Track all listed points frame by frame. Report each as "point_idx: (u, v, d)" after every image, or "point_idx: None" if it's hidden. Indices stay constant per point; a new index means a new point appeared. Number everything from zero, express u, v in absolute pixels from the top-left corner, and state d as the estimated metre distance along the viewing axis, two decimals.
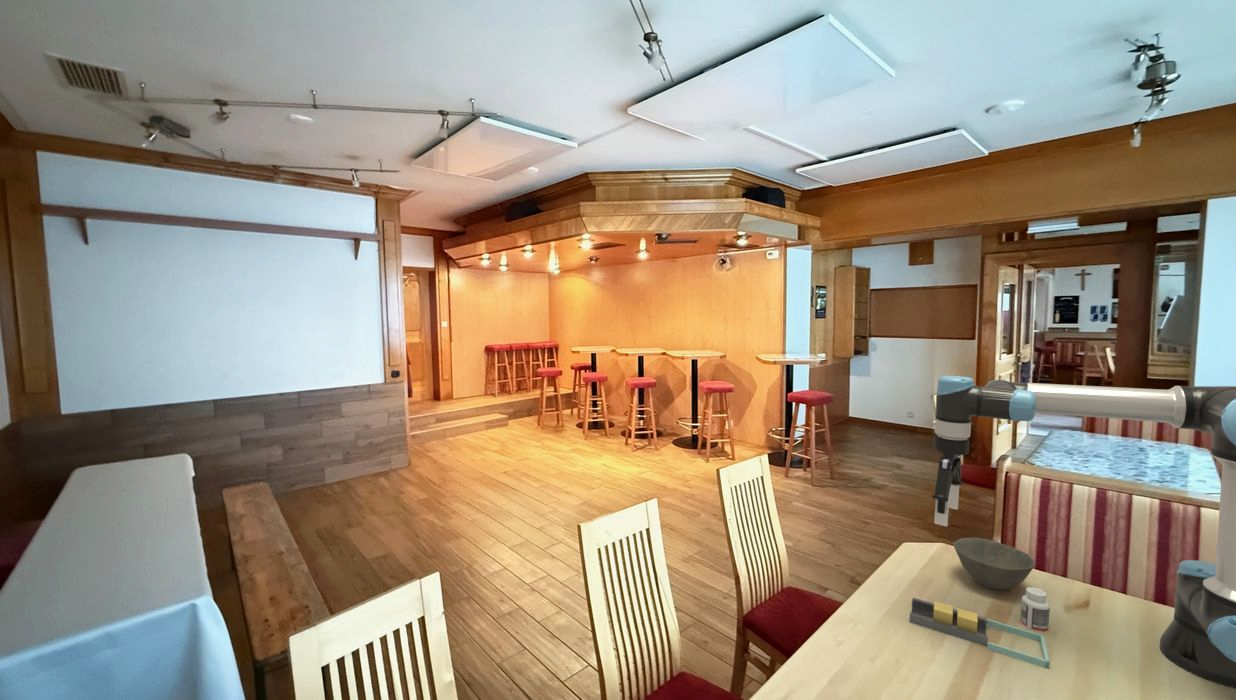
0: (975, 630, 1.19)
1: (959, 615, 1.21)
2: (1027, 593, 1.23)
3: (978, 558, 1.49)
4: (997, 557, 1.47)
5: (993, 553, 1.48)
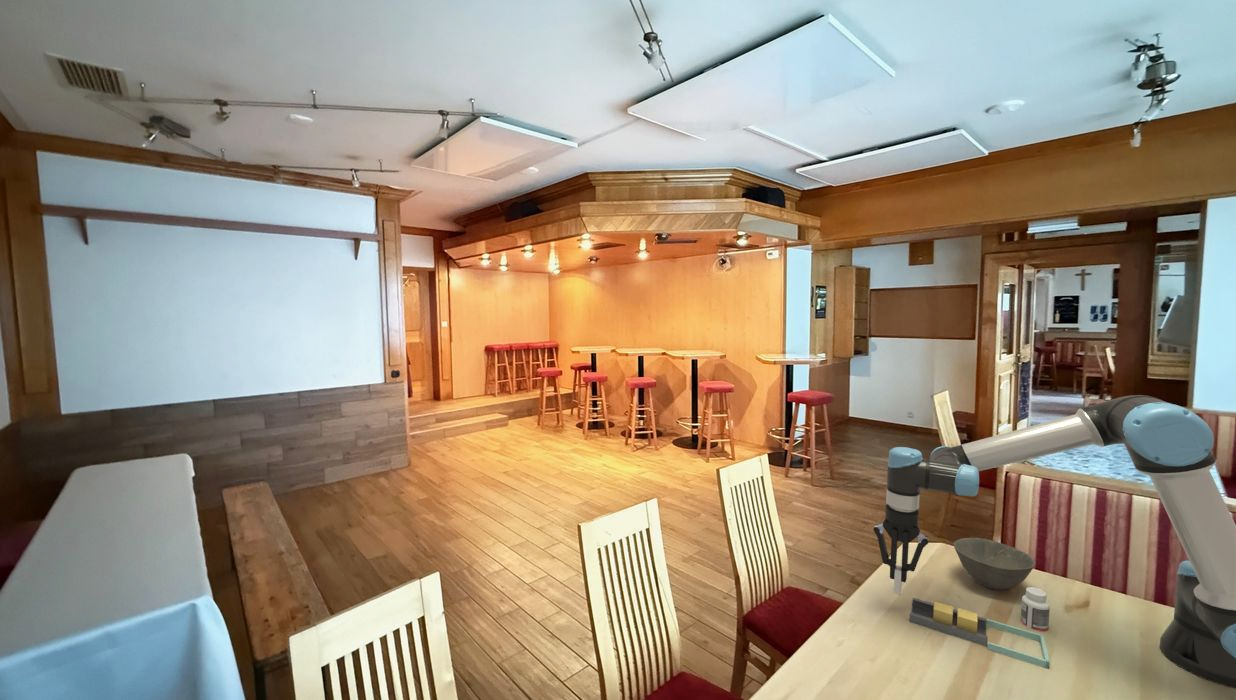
0: (975, 630, 1.19)
1: (959, 615, 1.21)
2: (1027, 593, 1.23)
3: (978, 558, 1.49)
4: (997, 557, 1.47)
5: (993, 553, 1.48)
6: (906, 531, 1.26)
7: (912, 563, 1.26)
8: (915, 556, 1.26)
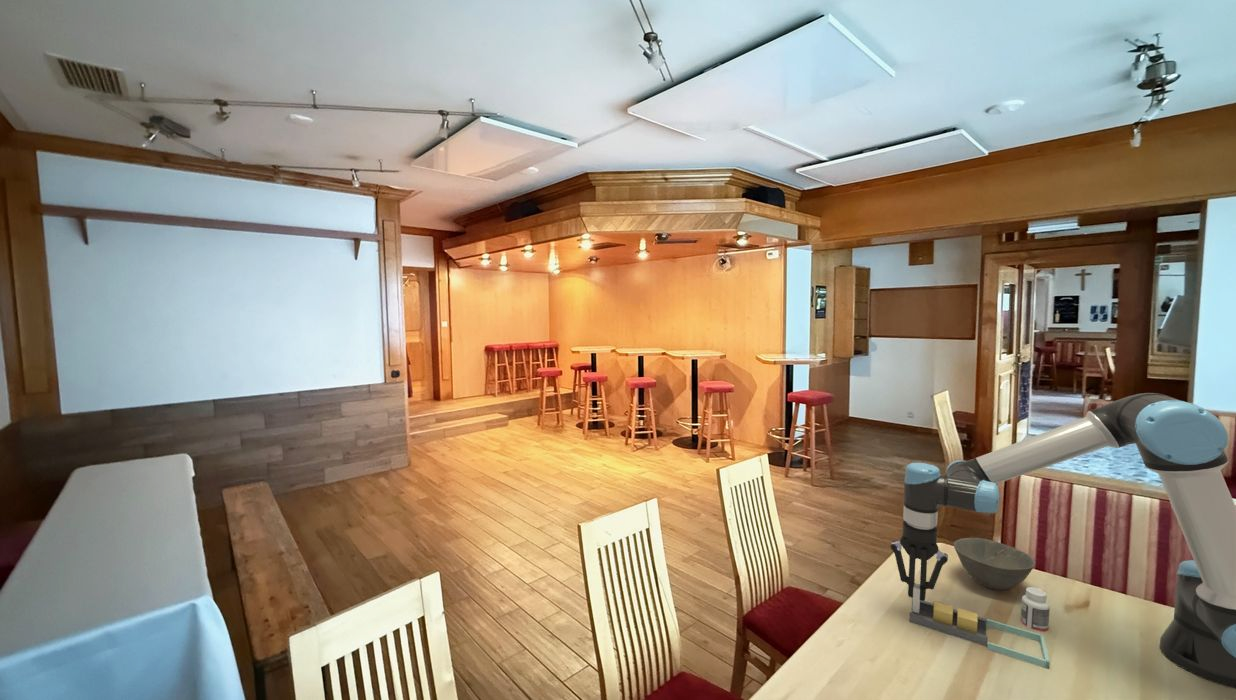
0: (975, 630, 1.19)
1: (959, 615, 1.21)
2: (1027, 593, 1.23)
3: (978, 558, 1.49)
4: (997, 557, 1.47)
5: (993, 553, 1.48)
6: (924, 548, 1.24)
7: (931, 581, 1.24)
8: (934, 574, 1.23)
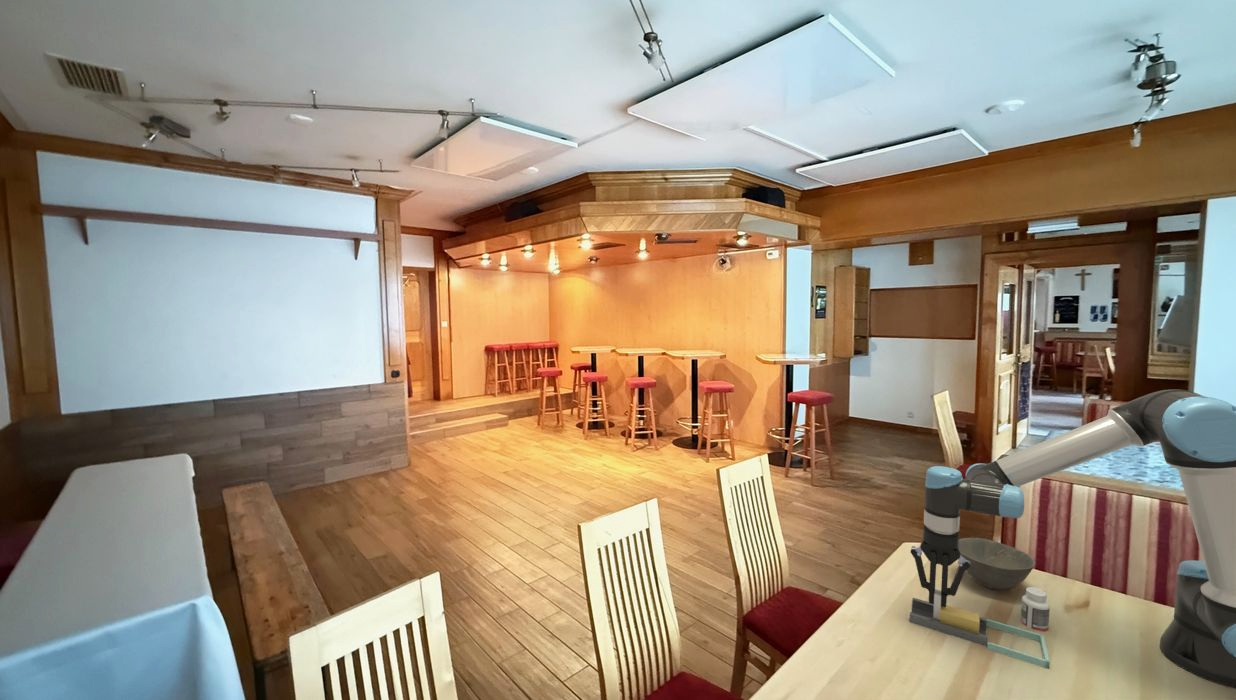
0: (977, 631, 1.18)
1: (961, 616, 1.20)
2: (1027, 593, 1.23)
3: (978, 558, 1.49)
4: (997, 557, 1.47)
5: (993, 553, 1.48)
6: (946, 554, 1.21)
7: (953, 587, 1.21)
8: (956, 580, 1.21)
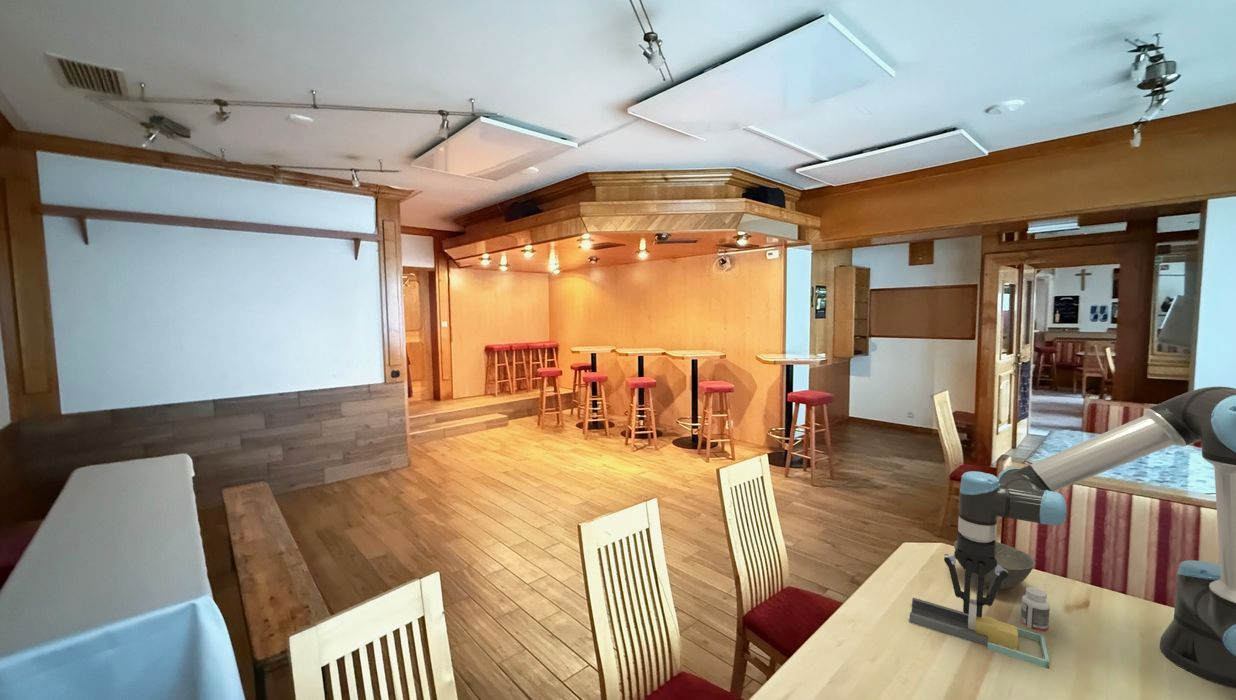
0: (1015, 644, 1.14)
1: (998, 628, 1.16)
2: (1027, 593, 1.23)
3: None
4: (997, 557, 1.47)
5: None
6: (982, 562, 1.17)
7: (989, 597, 1.17)
8: (993, 589, 1.17)
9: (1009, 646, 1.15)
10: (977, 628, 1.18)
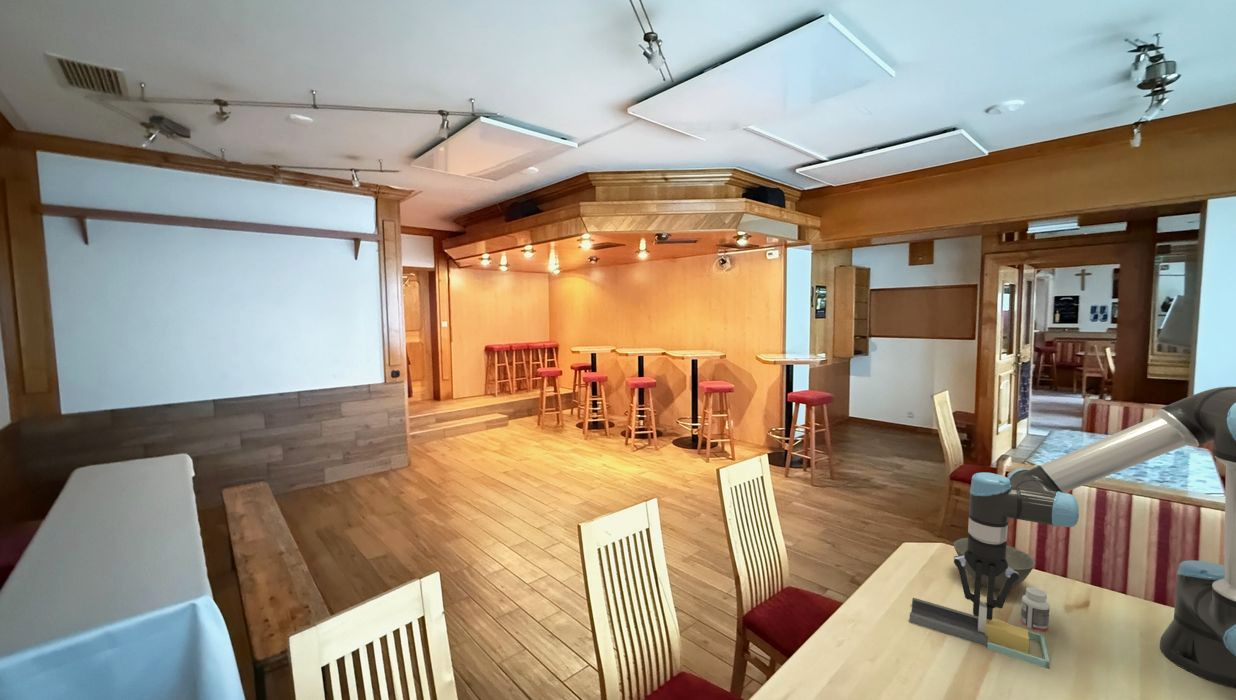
0: (1026, 647, 1.13)
1: (1009, 631, 1.15)
2: (1027, 593, 1.23)
3: None
4: None
5: None
6: (993, 564, 1.16)
7: (1000, 599, 1.16)
8: (1003, 592, 1.15)
9: (1020, 649, 1.14)
10: (987, 631, 1.17)
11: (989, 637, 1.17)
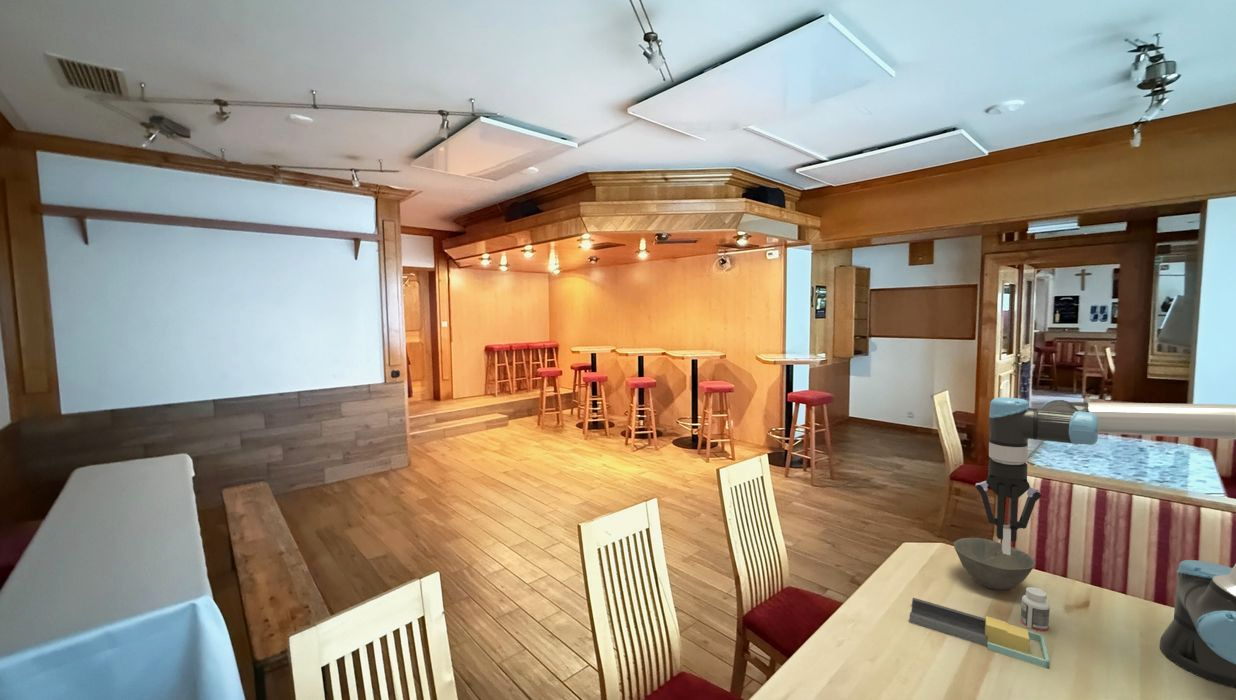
0: (1026, 647, 1.13)
1: (1009, 631, 1.15)
2: (1027, 593, 1.23)
3: (978, 558, 1.49)
4: (997, 557, 1.47)
5: (993, 553, 1.48)
6: (1015, 485, 1.18)
7: (1023, 520, 1.18)
8: (1026, 512, 1.18)
9: (1020, 649, 1.14)
10: (987, 631, 1.17)
11: (989, 637, 1.17)
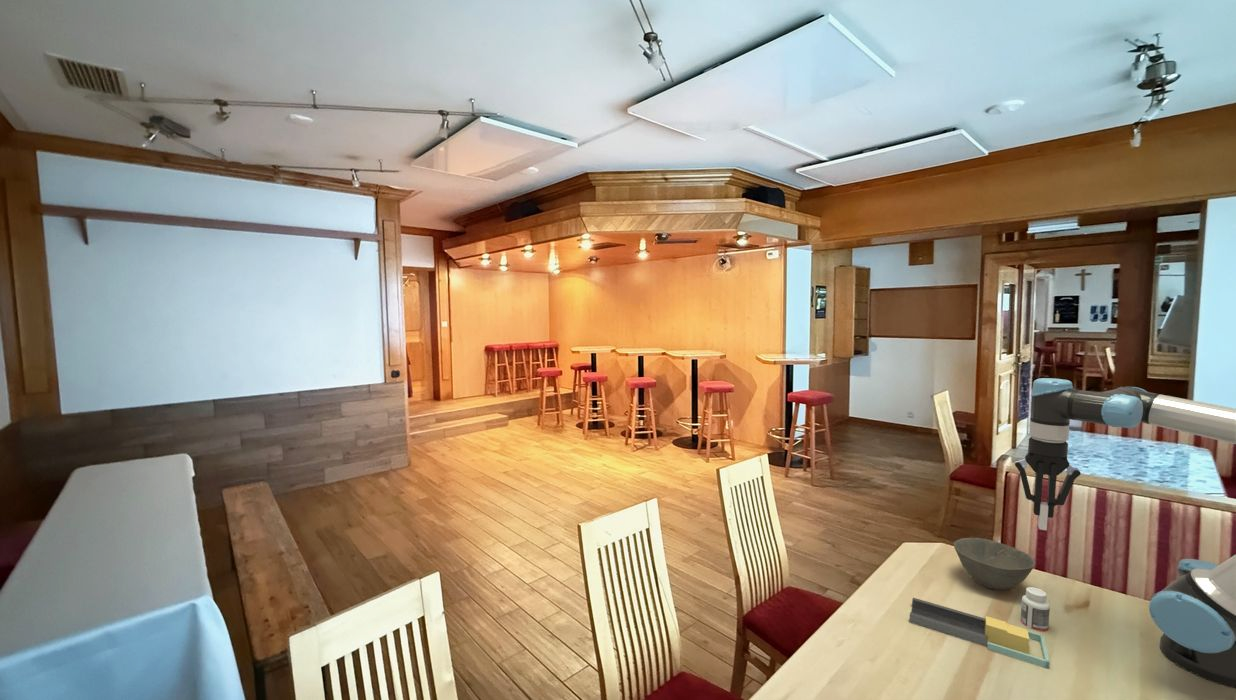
0: (1026, 647, 1.13)
1: (1009, 631, 1.15)
2: (1027, 593, 1.23)
3: (978, 558, 1.49)
4: (997, 557, 1.47)
5: (993, 553, 1.48)
6: (1054, 463, 1.22)
7: (1061, 496, 1.22)
8: (1065, 489, 1.21)
9: (1020, 649, 1.14)
10: (987, 631, 1.17)
11: (989, 637, 1.17)
